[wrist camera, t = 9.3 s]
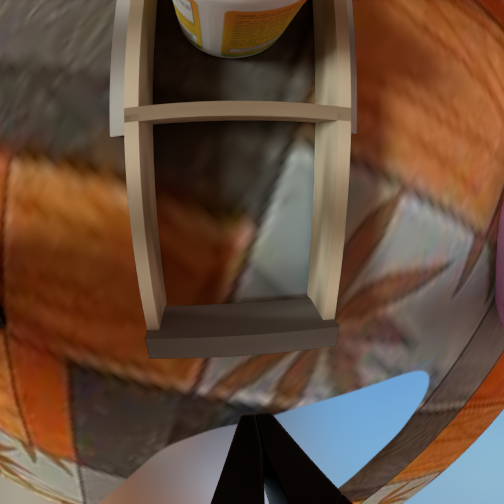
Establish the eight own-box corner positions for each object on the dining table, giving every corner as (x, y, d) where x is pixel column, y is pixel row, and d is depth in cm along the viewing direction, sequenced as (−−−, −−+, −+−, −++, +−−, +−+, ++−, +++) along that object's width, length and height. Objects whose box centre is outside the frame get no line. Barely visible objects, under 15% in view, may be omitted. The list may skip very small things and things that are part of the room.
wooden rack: (314, 309, 18) (335, 345, 15) (159, 317, 17) (149, 358, 14) (320, -25, 11) (345, -55, 8) (149, -29, 10) (136, -63, 7)
